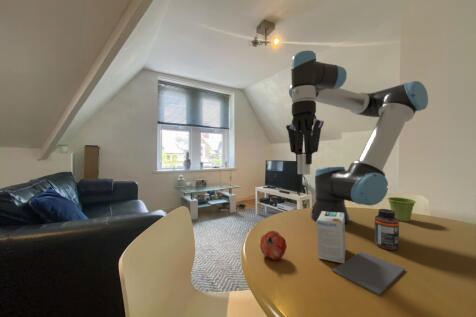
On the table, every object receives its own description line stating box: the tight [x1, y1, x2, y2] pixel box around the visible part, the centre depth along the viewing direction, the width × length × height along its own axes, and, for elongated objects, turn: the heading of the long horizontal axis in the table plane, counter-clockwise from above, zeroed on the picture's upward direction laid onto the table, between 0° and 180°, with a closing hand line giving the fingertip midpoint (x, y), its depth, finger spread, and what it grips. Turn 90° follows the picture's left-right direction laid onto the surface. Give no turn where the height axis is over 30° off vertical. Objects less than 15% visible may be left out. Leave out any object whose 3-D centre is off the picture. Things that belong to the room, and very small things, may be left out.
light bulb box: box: [316, 211, 347, 264], centre depth 56 cm, size 11×7×11 cm, turn 149°
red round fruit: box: [259, 230, 287, 261], centre depth 55 cm, size 7×7×10 cm
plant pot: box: [387, 196, 417, 223], centre depth 84 cm, size 9×9×9 cm
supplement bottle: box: [374, 208, 400, 251], centre depth 60 cm, size 6×6×11 cm
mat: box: [331, 251, 405, 296], centre depth 48 cm, size 10×15×1 cm, turn 124°
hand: (303, 174), depth 64 cm, fingers closed
